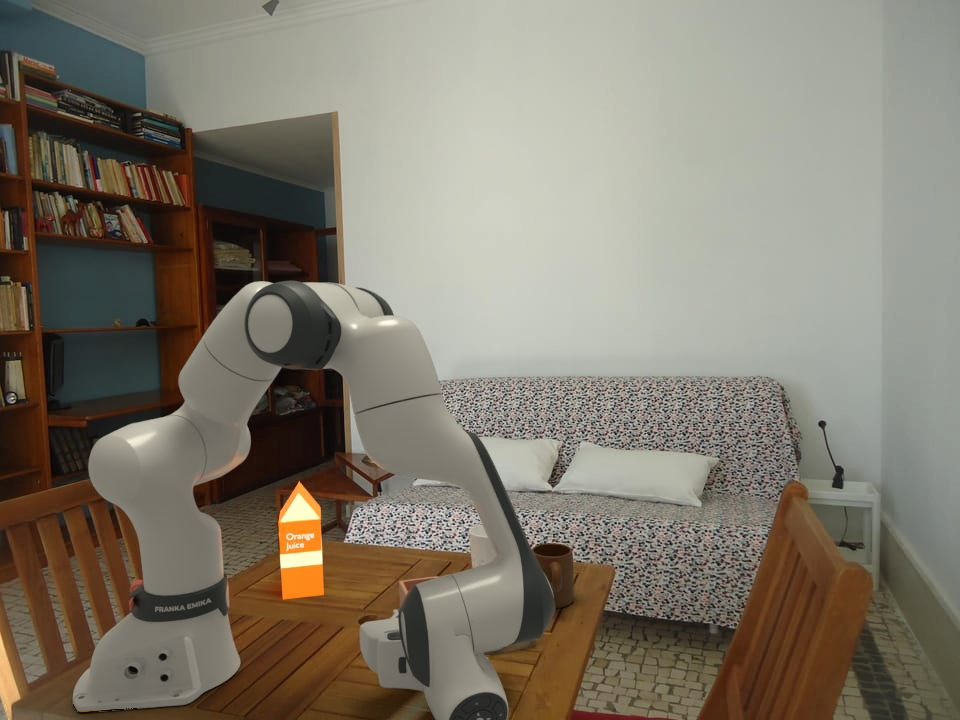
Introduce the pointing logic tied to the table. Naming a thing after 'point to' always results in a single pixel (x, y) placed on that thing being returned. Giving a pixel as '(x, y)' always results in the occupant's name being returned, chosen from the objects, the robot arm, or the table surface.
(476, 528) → the white cup
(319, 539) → the orange juice
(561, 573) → the mug
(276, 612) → the table surface
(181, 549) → the robot arm
